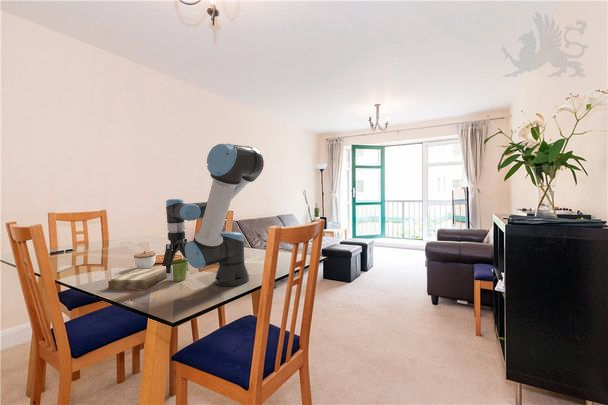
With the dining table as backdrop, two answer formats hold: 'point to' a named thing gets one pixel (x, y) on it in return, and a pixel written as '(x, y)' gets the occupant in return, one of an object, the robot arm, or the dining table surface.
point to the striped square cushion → (138, 279)
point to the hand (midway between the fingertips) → (178, 275)
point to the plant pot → (179, 270)
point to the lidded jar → (145, 259)
